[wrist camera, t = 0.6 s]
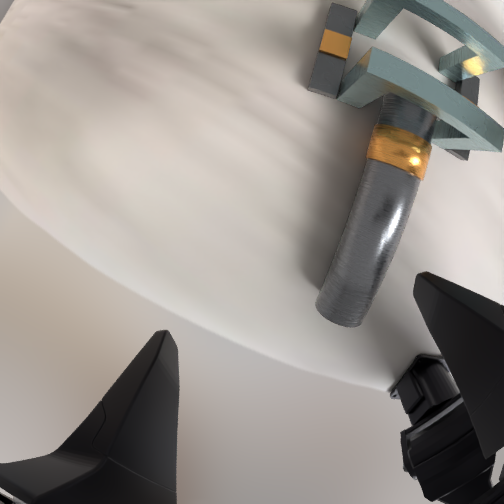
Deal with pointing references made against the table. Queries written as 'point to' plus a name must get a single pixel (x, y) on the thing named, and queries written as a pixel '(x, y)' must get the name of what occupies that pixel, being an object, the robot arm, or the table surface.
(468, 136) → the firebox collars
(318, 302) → the tube
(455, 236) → the table surface
